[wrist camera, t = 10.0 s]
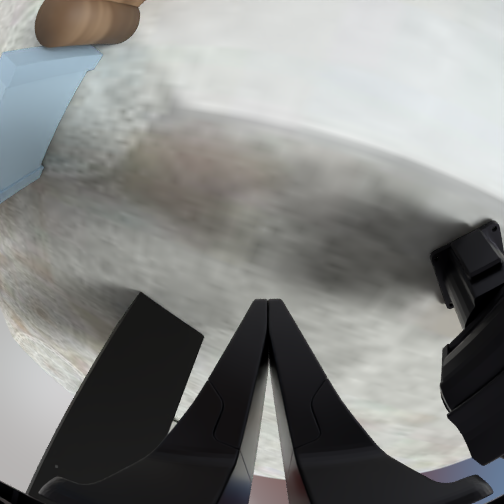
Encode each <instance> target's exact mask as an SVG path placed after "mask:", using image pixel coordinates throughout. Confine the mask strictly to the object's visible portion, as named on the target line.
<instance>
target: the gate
mask: <svg viewBox="0 0 504 504" xmlns="http://www.w3.org/2000/svg"><path fill="white" fill-rule="evenodd" d="M102 55H103V54H102V53H101V52H100V51H98V50H97V49H96V48H95V47H94V46H92V45H75V46H63V47H53V48H47V47H44V46H40V47H32V48H25V49H19V50H13V51H7V52H3V53H2V56H1V58H0V204H1V203H2V202H3V201H5V200H6V199H8V198H9V197H11V196H12V195H14V194H15V193H17V192H18V191H20V190H21V189H23V188H24V187H26V186H27V185H29V184H30V183H32V182H33V181H35V180H37V179H38V178H40V175H41V173H42V170H43V168H44V167H43V166H42V165H41V163H42V160H43V158H44V155H45V153H46V151H47V148H48V146H49V144H50V142H51V139H52V137H53V135H54V133H55V131H56V128H57V126H58V124H59V122H60V120H61V118H62V116H63V114H64V112H65V110H66V108H67V106H68V104H69V102H70V100H71V99H72V97H73V95H74V93H75V91H76V89H77V88H78V86H79V84H80V82H81V81H82V79H83V77H84V76H85V74H86V72H87V71H88V70H94V68H95V66H96V65H97V63H98V62H99V60H100V59H101V57H102Z"/></svg>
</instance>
